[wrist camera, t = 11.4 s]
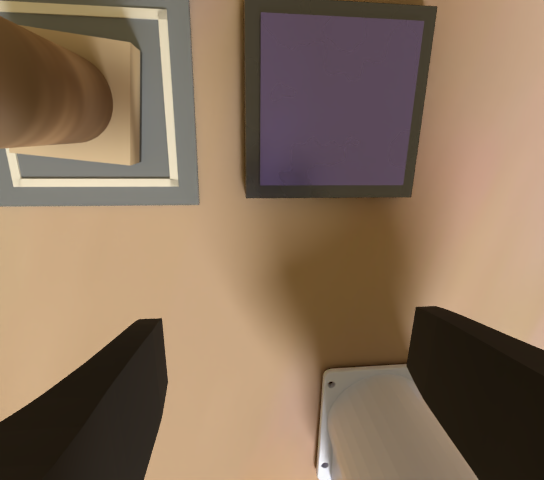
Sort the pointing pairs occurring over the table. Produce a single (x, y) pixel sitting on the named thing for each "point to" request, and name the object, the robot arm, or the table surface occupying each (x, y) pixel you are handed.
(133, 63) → the stamp
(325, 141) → the ink pad
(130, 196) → the desk mat
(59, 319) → the table surface
